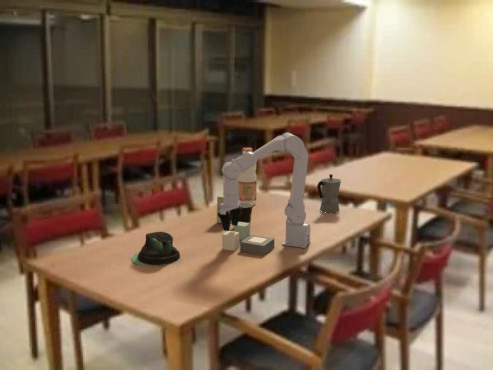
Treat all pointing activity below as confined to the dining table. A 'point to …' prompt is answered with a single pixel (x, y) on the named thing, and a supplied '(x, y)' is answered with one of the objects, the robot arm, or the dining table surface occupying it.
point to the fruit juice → (247, 184)
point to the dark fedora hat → (157, 250)
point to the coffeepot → (329, 194)
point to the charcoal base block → (257, 244)
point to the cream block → (230, 240)
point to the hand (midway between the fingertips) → (230, 227)
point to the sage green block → (242, 230)
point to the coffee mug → (246, 213)
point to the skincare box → (219, 207)
